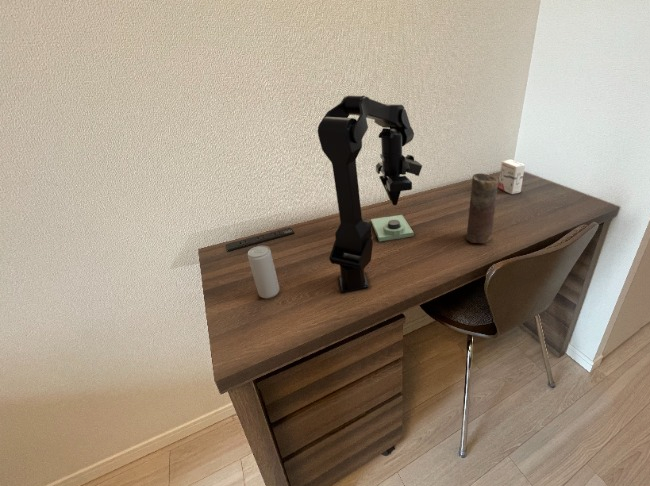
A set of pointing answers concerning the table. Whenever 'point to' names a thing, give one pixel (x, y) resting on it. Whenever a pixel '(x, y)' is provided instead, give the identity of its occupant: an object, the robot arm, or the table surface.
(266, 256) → the beverage can
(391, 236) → the pale green flat piece
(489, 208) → the candle
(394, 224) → the button
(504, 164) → the ink box
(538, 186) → the table surface
